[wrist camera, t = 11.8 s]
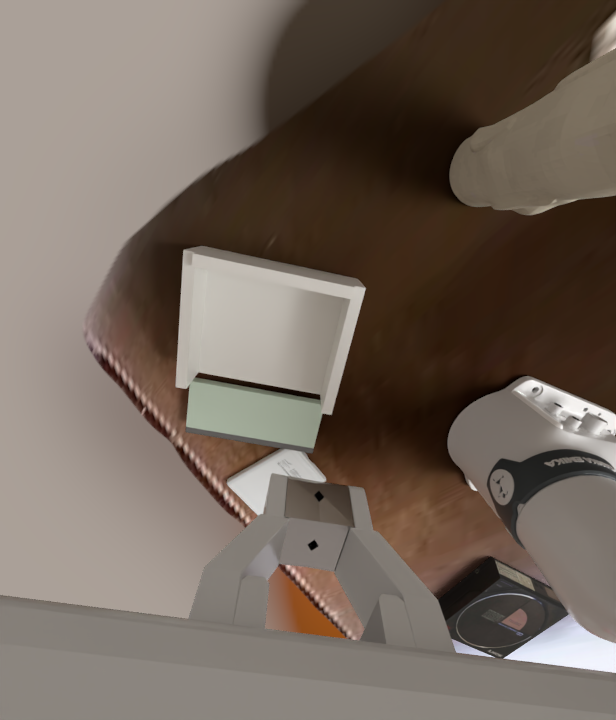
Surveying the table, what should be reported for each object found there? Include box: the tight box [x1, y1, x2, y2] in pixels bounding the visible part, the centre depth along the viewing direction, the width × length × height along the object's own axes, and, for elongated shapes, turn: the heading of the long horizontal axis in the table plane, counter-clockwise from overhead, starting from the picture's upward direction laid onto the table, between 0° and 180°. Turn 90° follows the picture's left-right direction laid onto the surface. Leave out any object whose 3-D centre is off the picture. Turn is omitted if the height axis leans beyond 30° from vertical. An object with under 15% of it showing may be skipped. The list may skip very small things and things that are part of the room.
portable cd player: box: [438, 557, 569, 659], centre depth 59 cm, size 16×17×4 cm
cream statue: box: [449, 48, 616, 215], centre depth 21 cm, size 9×8×30 cm
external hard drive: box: [227, 448, 326, 515], centre depth 50 cm, size 2×8×12 cm
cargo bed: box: [176, 246, 366, 415], centre depth 37 cm, size 18×15×7 cm
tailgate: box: [186, 377, 322, 453], centre depth 44 cm, size 17×1×8 cm
